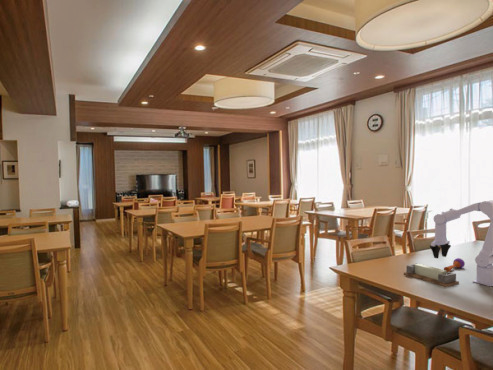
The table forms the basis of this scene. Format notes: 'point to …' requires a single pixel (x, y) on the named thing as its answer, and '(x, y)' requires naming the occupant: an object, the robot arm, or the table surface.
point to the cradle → (442, 279)
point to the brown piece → (455, 264)
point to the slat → (429, 271)
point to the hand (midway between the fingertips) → (440, 257)
